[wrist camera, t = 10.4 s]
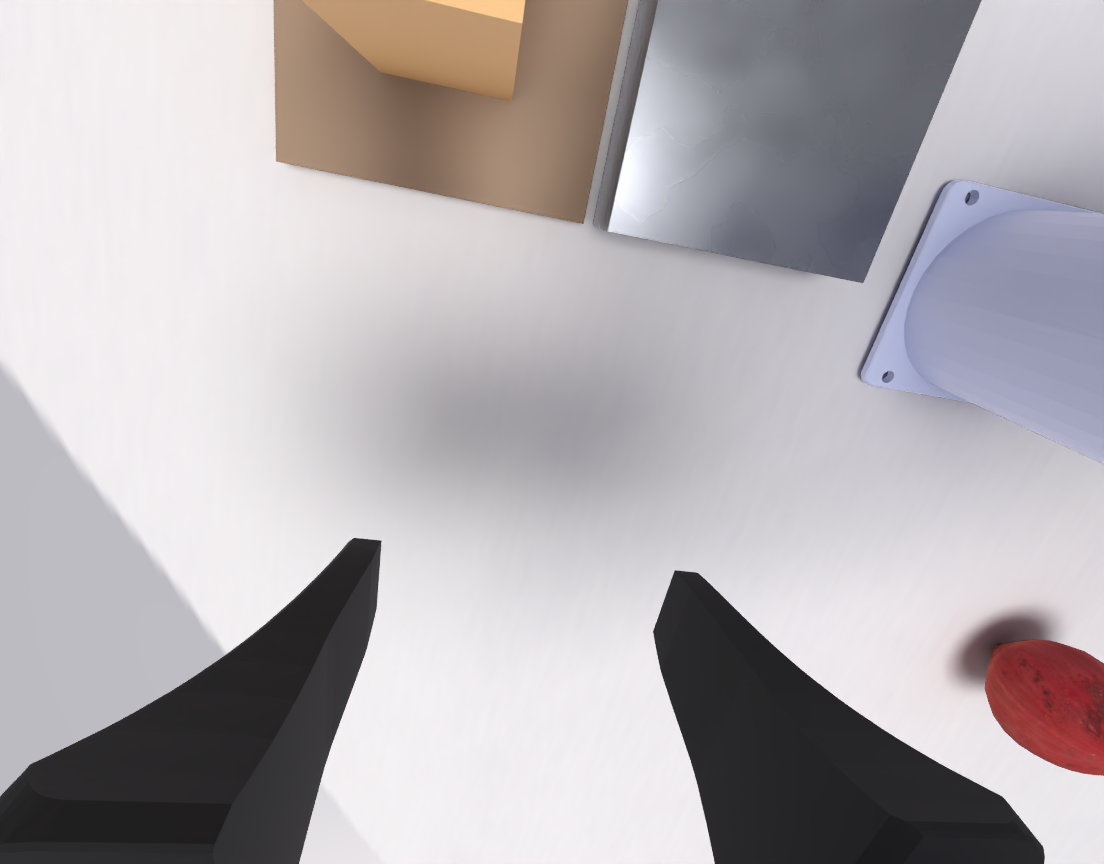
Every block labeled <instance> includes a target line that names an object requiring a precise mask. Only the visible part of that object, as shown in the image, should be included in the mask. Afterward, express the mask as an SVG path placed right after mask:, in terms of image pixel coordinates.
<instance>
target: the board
mask: <svg viewBox="0 0 1104 864" xmlns="http://www.w3.org/2000/svg"><path fill="white" fill-rule="evenodd" d="M627 4H628V0H525V7H524V15H523V23H522V30H521V38H520V45H519V53H518V60H517V68H516V75H515V83H514V90H513V98H512V101H509V100H504V99H500V98H495V97H491V96H486V95H482V94H477V93H472V92H468V91H463V90H459V89H454V88H450V87H445V86H441V85H436V84H431V83H427V82H422V81H418V80H413V79H409V78H404V77H399V76H395V75H390V74H386V73H381V72H380V71H379V70H377V69H376V68H375V67H374V66H373V65H372V64H371V63H370V62H369V61H368V60H367V59H365V58H364V57H363V56H362V55H361V54H360V53H359V52H358V51H357V50H356V49H355V48H353V47H352V46H351V45H350V44H349V43H348V42H347V41H346V40H345V39H344V38H343V37H341V36H340V35H339V34H338V33H337V32H336V31H335V30H334V29H333V28H332V27H331V26H330V25H328V24H327V23H326V22H325V21H324V20H323V19H322V18H321V17H320V16H319V15H318V14H316V13H315V12H314V11H313V10H312V9H311V8H310V7H309V6H308V5H307V4H306V3H304V2H303V1H302V0H274V53H275V115H276V161H277V162H282V163H287V164H292V165H297V166H302V167H306V168H311V169H316V170H321V171H326V172H331V173H336V174H341V175H346V176H351V177H356V178H361V179H365V180H370V181H375V182H380V183H385V184H390V185H395V186H400V187H405V188H410V189H415V190H420V191H425V192H429V193H434V194H439V195H444V196H449V197H454V198H459V199H464V200H469V201H474V202H479V203H484V204H488V205H493V206H498V207H503V208H508V209H513V210H518V211H523V212H528V213H533V214H538V215H543V216H547V217H552V218H557V219H562V220H567V221H572V222H577V223H582V224H583V223H584V218H585V213H586V208H587V203H588V198H589V193H590V188H591V183H592V178H593V173H594V168H595V163H596V158H597V153H598V148H599V143H600V138H601V134H602V129H603V124H604V119H605V114H606V109H607V104H608V99H609V94H610V89H611V84H612V79H613V74H614V69H615V64H616V59H617V54H618V49H619V44H620V39H621V34H622V29H623V24H624V19H625V14H626V9H627Z"/></svg>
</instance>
